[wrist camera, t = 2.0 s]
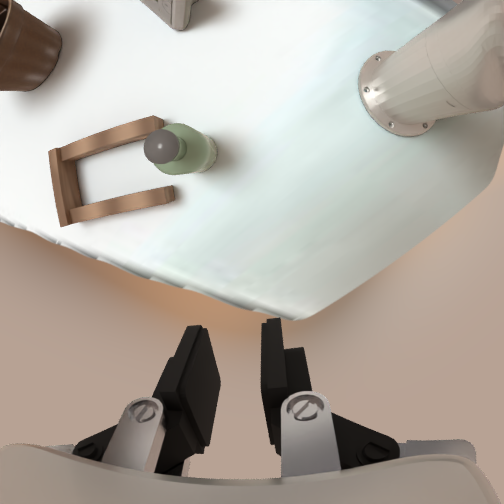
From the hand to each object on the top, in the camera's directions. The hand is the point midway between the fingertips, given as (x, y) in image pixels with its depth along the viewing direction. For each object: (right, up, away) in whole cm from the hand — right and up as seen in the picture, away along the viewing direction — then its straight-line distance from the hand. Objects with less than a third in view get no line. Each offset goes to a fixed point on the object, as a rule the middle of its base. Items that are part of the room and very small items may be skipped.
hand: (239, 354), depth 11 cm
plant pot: (-37, +37, +19) cm, 55 cm away
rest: (-18, +15, +24) cm, 34 cm away
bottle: (-6, +17, +24) cm, 30 cm away
